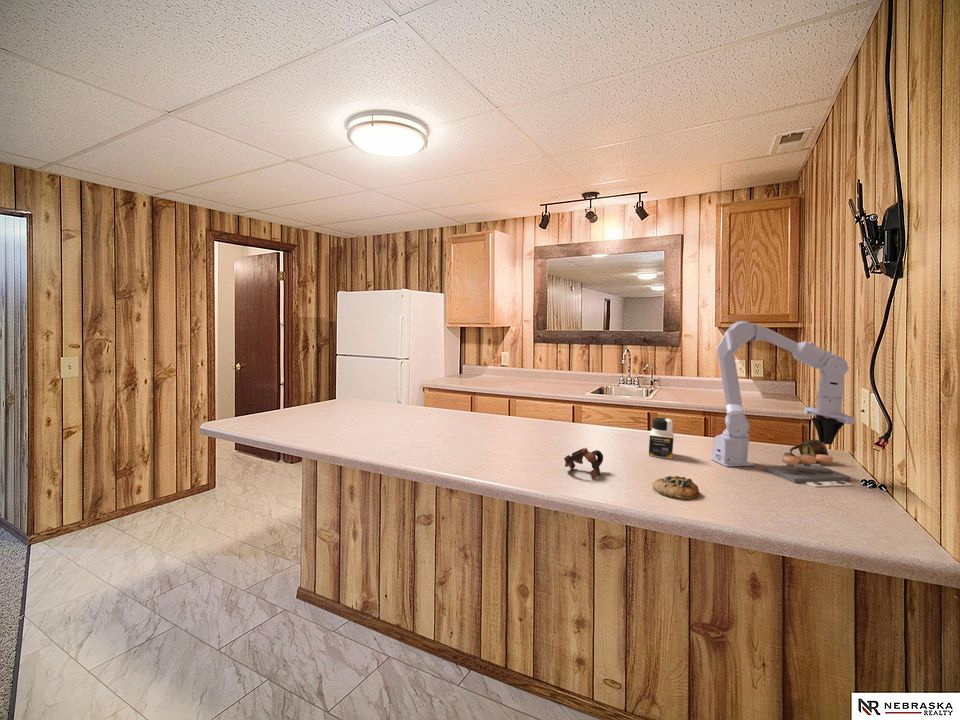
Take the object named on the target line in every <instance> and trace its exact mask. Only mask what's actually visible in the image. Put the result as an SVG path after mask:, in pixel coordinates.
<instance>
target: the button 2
mask: <svg viewBox="0 0 960 720" xmlns="http://www.w3.org/2000/svg"><path fill="white" fill-rule="evenodd" d="M833 459H834V457H833V456H831V455H829V454H828V455H821V454H817V455H816V463H819V465H820V466H822V467H828V465H830V464H833Z"/></svg>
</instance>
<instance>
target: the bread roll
mask: <svg viewBox="0 0 960 720" xmlns="http://www.w3.org/2000/svg"><path fill="white" fill-rule="evenodd" d="M651 485H652V489H653V490H652V491H655V492H656V493H658V494H660V495H662V496H664V497H668V498H677V499H679V500H692V499H695V498H697V497H698V496H699V495H700V490H699V486H698V485H697V484H696V483H695V482H693V480H692V478H686V477H685V476H682V477H681V476H678V475H675V476H673V475H669V476H665V477H664V478H663V477H662V478H657V479H656V480H654V481H653V482H652V483H651Z"/></svg>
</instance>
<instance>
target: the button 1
mask: <svg viewBox="0 0 960 720" xmlns="http://www.w3.org/2000/svg"><path fill="white" fill-rule="evenodd" d="M795 456H796V455H795ZM795 456H790V455H784V454H783V455H782V463H785V464H786V466H789V467H794V465H800V461H799V459H800V458H798V457H799V456H797V457H795Z"/></svg>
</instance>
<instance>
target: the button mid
mask: <svg viewBox="0 0 960 720" xmlns="http://www.w3.org/2000/svg"><path fill="white" fill-rule="evenodd" d="M798 457H799V458H800V459H799V463H802V465H804V466H808V467H810V466H811V465H817V461H816V457H813V456H809V455H801V454H799V456H798Z"/></svg>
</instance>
